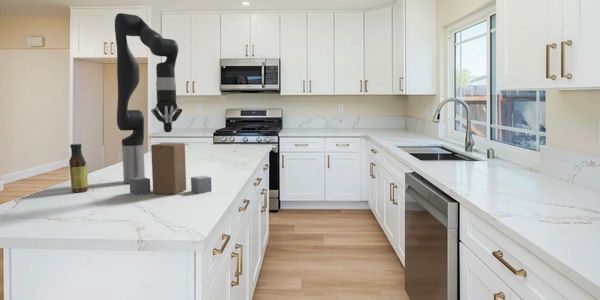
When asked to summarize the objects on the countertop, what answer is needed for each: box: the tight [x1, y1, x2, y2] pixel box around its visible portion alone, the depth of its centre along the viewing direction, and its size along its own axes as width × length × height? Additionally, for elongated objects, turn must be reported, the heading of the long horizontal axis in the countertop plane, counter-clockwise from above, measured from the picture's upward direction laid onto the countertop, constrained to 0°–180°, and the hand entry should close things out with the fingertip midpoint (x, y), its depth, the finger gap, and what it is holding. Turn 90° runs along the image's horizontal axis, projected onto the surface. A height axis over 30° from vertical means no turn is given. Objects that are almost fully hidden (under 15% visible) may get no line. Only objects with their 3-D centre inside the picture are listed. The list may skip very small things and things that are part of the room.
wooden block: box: [150, 142, 187, 196], centre depth 175 cm, size 10×10×20 cm
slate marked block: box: [190, 175, 212, 194], centre depth 177 cm, size 6×6×6 cm
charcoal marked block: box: [129, 176, 151, 196], centre depth 174 cm, size 6×6×6 cm
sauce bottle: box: [68, 143, 89, 193], centre depth 177 cm, size 6×6×20 cm
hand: (167, 132), depth 174 cm, fingers closed
